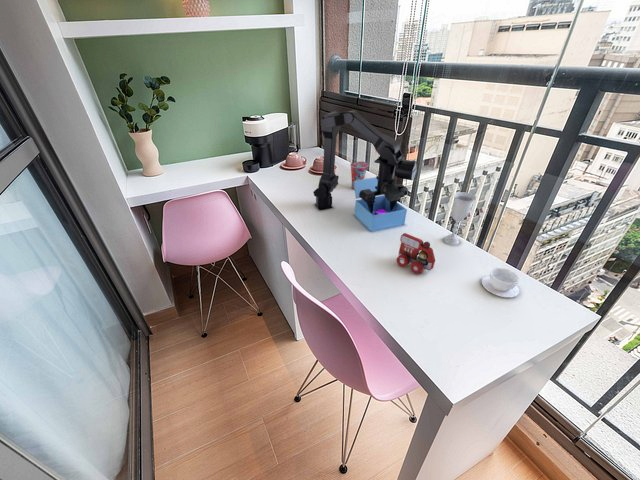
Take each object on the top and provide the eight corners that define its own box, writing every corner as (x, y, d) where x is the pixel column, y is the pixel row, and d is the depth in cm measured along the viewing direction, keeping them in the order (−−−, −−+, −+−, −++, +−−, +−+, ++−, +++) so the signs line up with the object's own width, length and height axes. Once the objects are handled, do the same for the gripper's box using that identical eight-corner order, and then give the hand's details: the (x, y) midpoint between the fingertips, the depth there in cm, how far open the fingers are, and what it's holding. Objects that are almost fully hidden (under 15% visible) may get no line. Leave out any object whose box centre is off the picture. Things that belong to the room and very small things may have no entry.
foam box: (354, 215, 132) (355, 200, 128) (384, 209, 136) (387, 194, 132) (371, 231, 120) (373, 216, 116) (404, 225, 124) (407, 209, 120)
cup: (365, 191, 152) (367, 167, 145) (348, 190, 153) (349, 167, 146) (365, 184, 159) (368, 161, 152) (349, 183, 161) (351, 160, 154)
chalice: (446, 234, 118) (459, 190, 107) (464, 240, 114) (479, 195, 103) (438, 241, 113) (450, 196, 103) (456, 248, 109) (470, 202, 99)
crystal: (385, 223, 124) (387, 213, 122) (372, 222, 126) (373, 212, 123) (386, 217, 128) (388, 207, 126) (373, 216, 130) (374, 206, 127)
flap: (355, 198, 127) (355, 198, 128) (387, 193, 131) (386, 193, 131) (354, 180, 125) (354, 180, 126) (386, 175, 129) (385, 175, 129)
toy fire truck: (425, 278, 96) (432, 252, 90) (391, 262, 104) (396, 236, 98) (435, 269, 100) (443, 242, 94) (402, 254, 108) (407, 228, 102)
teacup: (502, 302, 87) (508, 290, 84) (473, 282, 95) (478, 270, 92) (526, 292, 90) (533, 280, 87) (497, 273, 98) (502, 261, 95)
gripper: (374, 186, 107) (370, 225, 116) (420, 179, 112) (412, 216, 121) (360, 175, 116) (357, 212, 125) (402, 169, 120) (396, 205, 129)
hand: (381, 212), depth 125 cm, fingers open, 9 cm apart
